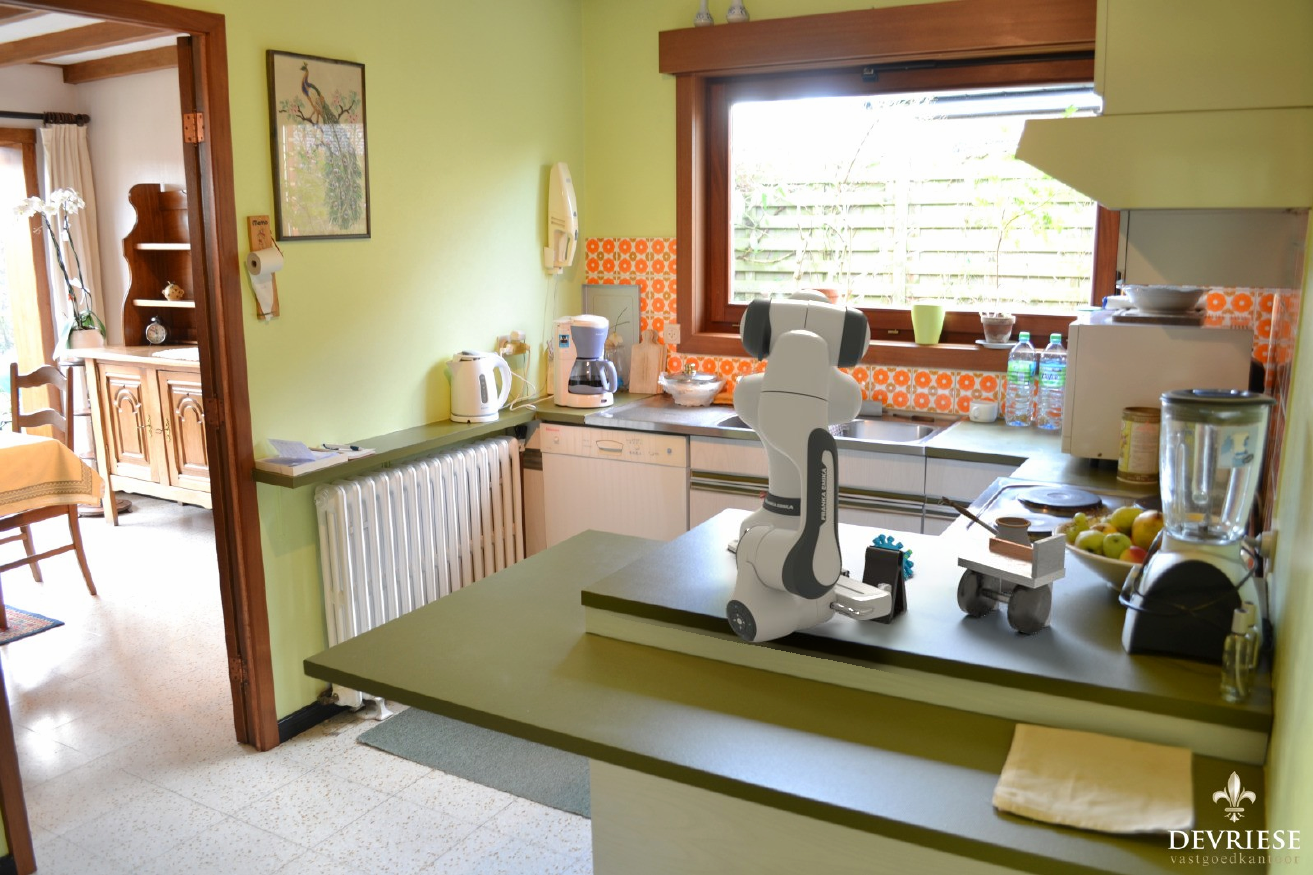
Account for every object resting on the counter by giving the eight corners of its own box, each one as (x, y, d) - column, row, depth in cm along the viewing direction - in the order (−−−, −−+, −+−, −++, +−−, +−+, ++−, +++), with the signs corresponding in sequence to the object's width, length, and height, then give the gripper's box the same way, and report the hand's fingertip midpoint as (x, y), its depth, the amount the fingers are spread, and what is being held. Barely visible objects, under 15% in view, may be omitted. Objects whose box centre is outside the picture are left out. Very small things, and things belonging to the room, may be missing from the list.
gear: (891, 578, 194) (867, 533, 199) (872, 593, 198) (848, 549, 203) (927, 573, 201) (903, 530, 206) (908, 588, 205) (884, 546, 210)
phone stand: (888, 624, 176) (891, 558, 173) (856, 617, 179) (858, 552, 177) (907, 608, 183) (910, 544, 181) (876, 602, 186) (878, 539, 184)
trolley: (949, 616, 179) (954, 525, 176) (985, 602, 185) (990, 514, 182) (1025, 642, 167) (1031, 545, 164) (1061, 627, 174) (1068, 533, 170)
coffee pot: (1052, 586, 194) (1057, 510, 191) (1023, 601, 186) (1028, 522, 183) (951, 561, 209) (955, 490, 206) (921, 574, 201) (924, 501, 198)
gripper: (858, 598, 160) (915, 579, 169) (769, 565, 176) (825, 549, 185) (857, 635, 162) (913, 615, 170) (768, 599, 178) (824, 582, 186)
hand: (866, 580), depth 177 cm, fingers open, 8 cm apart
